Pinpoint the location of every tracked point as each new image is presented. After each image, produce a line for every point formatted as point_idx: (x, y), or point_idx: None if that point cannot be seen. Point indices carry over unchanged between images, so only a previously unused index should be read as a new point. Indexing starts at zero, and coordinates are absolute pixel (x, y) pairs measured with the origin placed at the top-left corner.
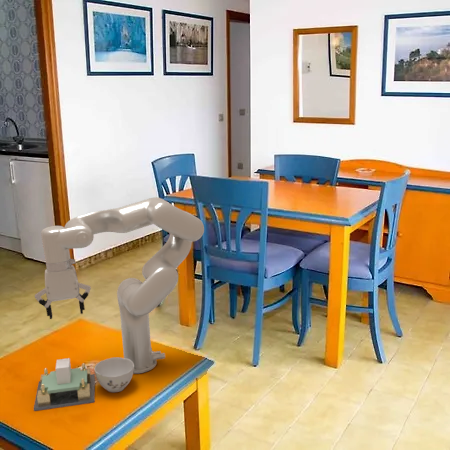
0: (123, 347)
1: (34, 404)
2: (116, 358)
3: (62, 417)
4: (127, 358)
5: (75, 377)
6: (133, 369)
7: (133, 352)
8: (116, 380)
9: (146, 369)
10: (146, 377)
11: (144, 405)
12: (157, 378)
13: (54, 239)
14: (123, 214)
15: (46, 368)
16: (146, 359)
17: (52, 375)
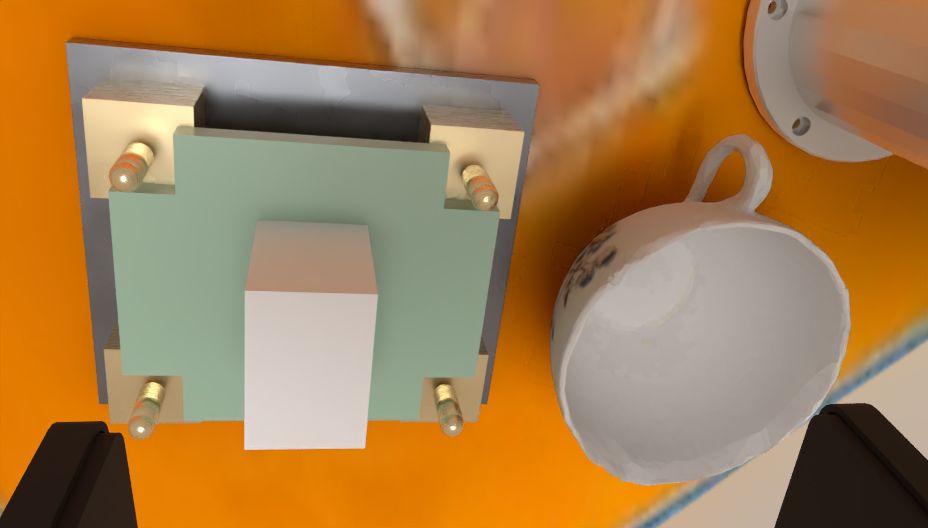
0: (894, 71)
1: (96, 366)
2: (765, 228)
3: (293, 482)
4: (843, 107)
5: (398, 298)
6: (811, 379)
7: (923, 167)
8: (665, 455)
9: (890, 154)
10: (845, 213)
11: (720, 475)
12: (894, 246)
13: None
14: None
15: (132, 179)
16: None
17: (200, 210)
